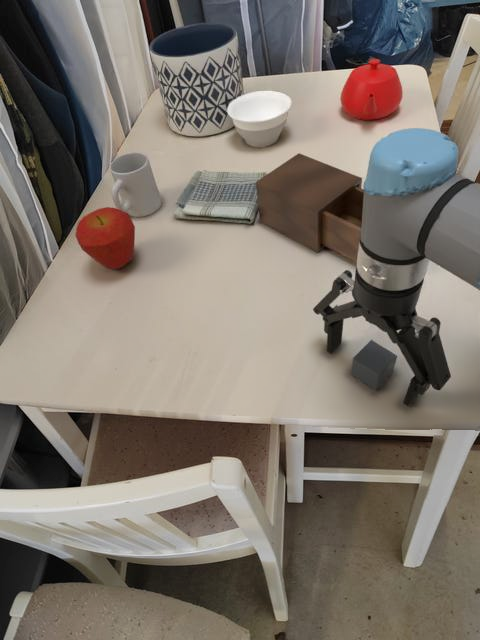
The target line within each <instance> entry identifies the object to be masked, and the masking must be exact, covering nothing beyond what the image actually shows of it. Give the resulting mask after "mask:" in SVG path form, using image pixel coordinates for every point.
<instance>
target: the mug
mask: <svg viewBox="0 0 480 640" xmlns="http://www.w3.org/2000/svg"><path fill="white" fill-rule="evenodd" d="M109 170H110V172H111V176H112V178H113V181H114V184H113V185H112V187H111V198H112V201H113V203H114V206H115V208H116V209H119V210H121V211H124V212H126V213H128V215H129V216H131V217H134V218H143V217H147V216H150V215H153V214H154V213H155V212H157V211H158V210H159V209H160V207H161V206H162V203H163V202H162V197H161V195H160V191H159V188H158V186H157V182H156V178H155V176H154V172H153V170H152V166H151V163H150V159H149V157H148V156H147V155H146V154H145V153H142V152H128V153H125V154H122V155H119V156H118V157H116V158H114V159H113V161H111V163H110V165H109ZM120 199H121V201H120ZM121 202H122V204H123V205H122V204H121Z"/></svg>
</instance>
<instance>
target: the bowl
mask: <svg viewBox="0 0 480 640" xmlns="http://www.w3.org/2000/svg"><path fill="white" fill-rule="evenodd" d="M292 104H293V103H292V99H291V97H289V95H288V94H286V93H284V92H279V91H276V90H258V91H253V92H248V93H244V95H242V96H240V97H238V98H236V99H235V100H233V101H232V102H231V103H230V104H229V106H228V108H227V113H228V115H229V116H230V117H231V118H233V123H234V125H235V126H234V127H235V130H236V131H237V133H238V134H239V135H240V136H241V137H242V138H243V139H244V140H245V143H246V144H247V145H248V146H250V147H254V148H263V147H268V146H271V145H273V144H275V143H276V142H278V141H279V138H280V134H281V133H282V132H283V130H284V128H285V126H286V124H287V119H288V114H289V111H290V109H291V108H292Z"/></svg>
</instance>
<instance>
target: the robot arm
mask: <svg viewBox="0 0 480 640" xmlns="http://www.w3.org/2000/svg"><path fill="white" fill-rule="evenodd" d="M459 155H460V154H459V148H458V146H457V144H456V143H455V142H454V141H452V140H451V139H450V137H449V136H448V135H446V134H445V133H443V132H441V131H437V130H436V129H435V130H434V129H429V128H424V127H423V128H421V127H413V128H411V127H410V128H403V129H398V130H396V131H393V132H390V133H389V134H388V135H386V136H384V137H382V138H381V139H379V140H378V141H377V142H376V143H375V144H374V145H373V147H372V149H371V152H370V154H369V160H368V165H367V171H366V177H365V180H364V182H363V184H362V185H363V186H362V189H364V197H363V213H362V227H361V231H360V238H359V247H358V257H357V262H356V268H355V274H354V279H353V273H352V272H351V271H350V270H348V269H345V270H344V271H342V273H341V274H340V275H338V276H337V277H336V278H335V279H334V280H333V282H332V286H331V290H329V291H328V293H327V294H325V296H324V297H323V298H322V299H321V300H320V301H319V302H318V303H317V304H316V305H315V306H314V307H313V308H312V311H313V312H314V314H316V315H321V316H322V320H323V323H324V324H323V326H324V327H323V330H324V333H325V334H327V337H326V338H327V339H326V352H327V353H329V354H332V353H333V352H334V351H335V350H336V349H338V347H339V346H341V344H342V343H343V342H342V340H343V329H344V320H346V319H350V318H352V319H356V318H359V317H363V318H364V319H365V321H366V322H367V323H369V324H370V325H373V326H376V328H378V329H379V330H380V331H382V332H384V333H386V334H387V336H388V337H389V339H390V341H391V343H392V344H395V345H397V347H398V348H399V351H400V352H401V354H402V355H403V357H404V359H405V361H406V363H407V365H408V366H409V368H410V370H411V371H412V373H413V376H412V378H411V379H410V381H409V384H408V386H407V387H408V388H407V391H406V394H405V396H404V400H403V402H402V403H403V405H405V406H406V407H409V406H410V405H411V404H412V403H413V401H414V400H416V398H417V397H418V396H419V395H420V396H423V395H424V394H425V393H426V392H427V391H428V390H429V389H430V388H431V387H432V388H433V389H434V390H435V391H441V390H442V389H443V388H444V386H445V385H446V384H447V383H448V382H449V380H450V379H451V378H452V375H451V371H450V368H449V364H448V360H447V356H446V353H445V349H444V346H443V343H442V339H441V335H440V330H441V325H442V323H441V321H440V319H439V318H437V317H431V318H430V319H429V320H427V319H425V318H423V317H421V316H420V315H418V312H417V308H416V307H417V304H418V302H419V298H420V296H421V293H422V292H421V291H422V288H423V284H424V281H425V277H426V274H427V271H428V266H429V264H430V262H432V263H434V264H436V265H437V266H439V267H441V268H442V269H444V270H446V271H447V272H448V273H450V274H452V275H454V276H455V277H457V278H458V279H460V280H462V281H464V282H465V283H466V284H469V285H470V286H472V287H473V288H475V289H477V290H479V291H480V183H478V182H476V181H474V180H472V179H470V178H469V177H465V176H463V175H460V174H459V173H457V172H458V168H459V165H458V164H459V162H458V161H459ZM349 292H351V296H352V298H353V300H352V301H350V302H346V303H343V304H339V305H338V304H336V305H334V306H333V307H332V306H331V305H332V303H334V301H336V300H337V298H338V297H340V296H341V295H343V294H344V293H345V294H347V293H349Z"/></svg>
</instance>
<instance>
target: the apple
mask: <svg viewBox="0 0 480 640" xmlns="http://www.w3.org/2000/svg"><path fill="white" fill-rule="evenodd" d="M130 216H131V215H129V214H128V213H127V212H124V211H121V210H119V209H117V208H116V207H111V206H110V207H109V206H106V207H102V208H97V209H96V210H95V209H94V210H93V211H91V212H89V213H88V214H86V215H84V216H83V217H81V219H80V220H79V221H78V223H77V226H76V229H75V239H76V240H77V243H78V245H79V247H80V249H81V250H82V251H83V252H84V253H85V254H86V255H87V256H89V257H90V258H92V260H94V261H96V262H97V263H99V264H100V266H103V267H104V268H106V269H108V270H115V269H116V270H117V269H121V268H123V267H125V265H127V264H128V263H129V262H130V261H131V260H132V258H133V256H134V250H135V240H136V239H135V238H136V229H135V228H136V226H135V224H134V222H133V220H132V218H131V217H130Z"/></svg>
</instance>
